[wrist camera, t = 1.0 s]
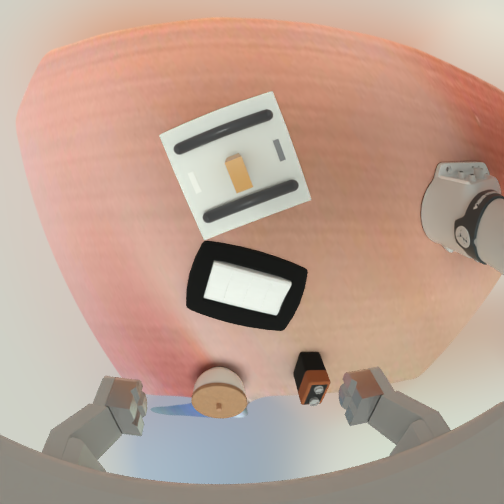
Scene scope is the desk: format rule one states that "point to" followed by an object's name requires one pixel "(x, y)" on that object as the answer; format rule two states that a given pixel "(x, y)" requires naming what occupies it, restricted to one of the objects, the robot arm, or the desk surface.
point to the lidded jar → (219, 393)
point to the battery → (311, 378)
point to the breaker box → (254, 157)
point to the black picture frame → (244, 286)
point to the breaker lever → (238, 173)
